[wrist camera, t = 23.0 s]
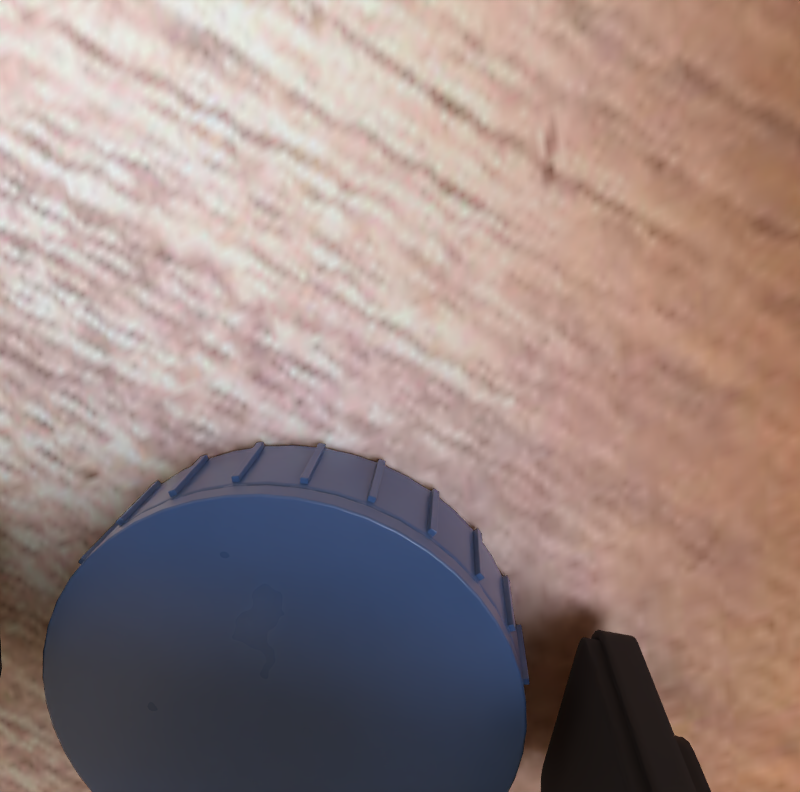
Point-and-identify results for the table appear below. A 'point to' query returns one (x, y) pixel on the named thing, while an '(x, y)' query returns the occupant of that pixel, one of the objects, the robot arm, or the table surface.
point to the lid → (288, 637)
